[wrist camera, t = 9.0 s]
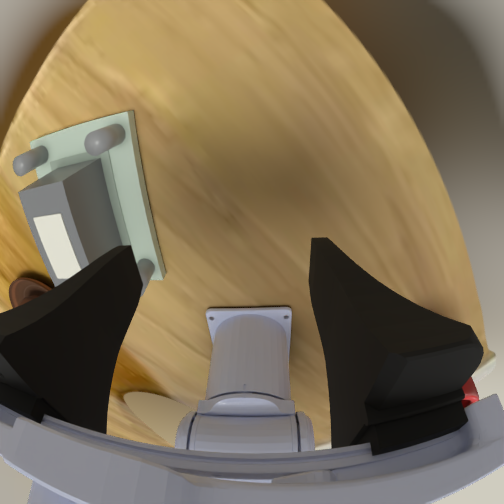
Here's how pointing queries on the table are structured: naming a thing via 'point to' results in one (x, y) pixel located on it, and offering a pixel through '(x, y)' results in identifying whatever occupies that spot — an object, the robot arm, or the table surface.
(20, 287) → the cup and saucer
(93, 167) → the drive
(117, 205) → the tray
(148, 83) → the table surface
